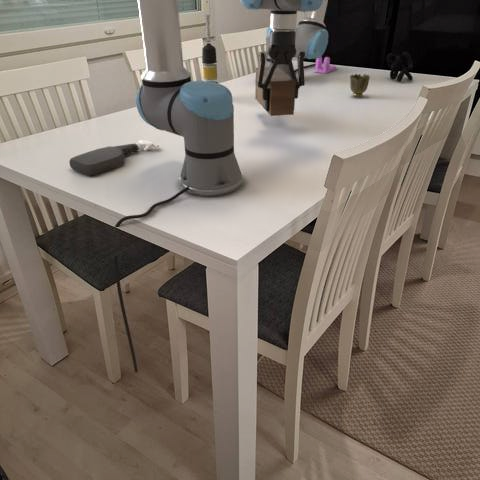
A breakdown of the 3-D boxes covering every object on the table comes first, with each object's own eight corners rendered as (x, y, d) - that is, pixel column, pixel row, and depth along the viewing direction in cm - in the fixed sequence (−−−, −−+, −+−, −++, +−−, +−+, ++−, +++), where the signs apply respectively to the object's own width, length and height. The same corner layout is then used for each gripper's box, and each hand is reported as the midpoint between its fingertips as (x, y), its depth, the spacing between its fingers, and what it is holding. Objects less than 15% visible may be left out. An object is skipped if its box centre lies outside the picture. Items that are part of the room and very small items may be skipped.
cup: (345, 97, 176) (348, 76, 172) (351, 93, 181) (353, 73, 177) (364, 99, 173) (367, 78, 169) (369, 95, 178) (372, 74, 174)
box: (293, 114, 139) (295, 80, 133) (270, 115, 138) (271, 81, 132) (275, 97, 158) (276, 67, 153) (255, 98, 157) (255, 67, 151)
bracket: (325, 73, 215) (326, 57, 211) (315, 71, 218) (316, 56, 214) (337, 68, 224) (338, 53, 220) (327, 67, 227) (328, 52, 223)
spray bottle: (67, 168, 120) (139, 144, 136) (91, 178, 114) (163, 151, 130) (65, 157, 118) (137, 134, 134) (89, 167, 112) (162, 142, 128)
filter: (220, 99, 177) (217, 15, 161) (206, 100, 176) (202, 16, 160) (215, 96, 182) (212, 14, 166) (202, 97, 180) (197, 14, 164)
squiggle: (400, 92, 202) (376, 71, 205) (417, 76, 202) (392, 56, 205) (405, 81, 191) (380, 59, 194) (423, 64, 191) (397, 42, 194)
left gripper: (312, 28, 134) (306, 105, 145) (246, 29, 131) (245, 108, 142) (320, 30, 127) (313, 111, 139) (251, 32, 124) (250, 114, 136)
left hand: (279, 109), depth 141 cm, fingers closed on box, 7 cm apart
